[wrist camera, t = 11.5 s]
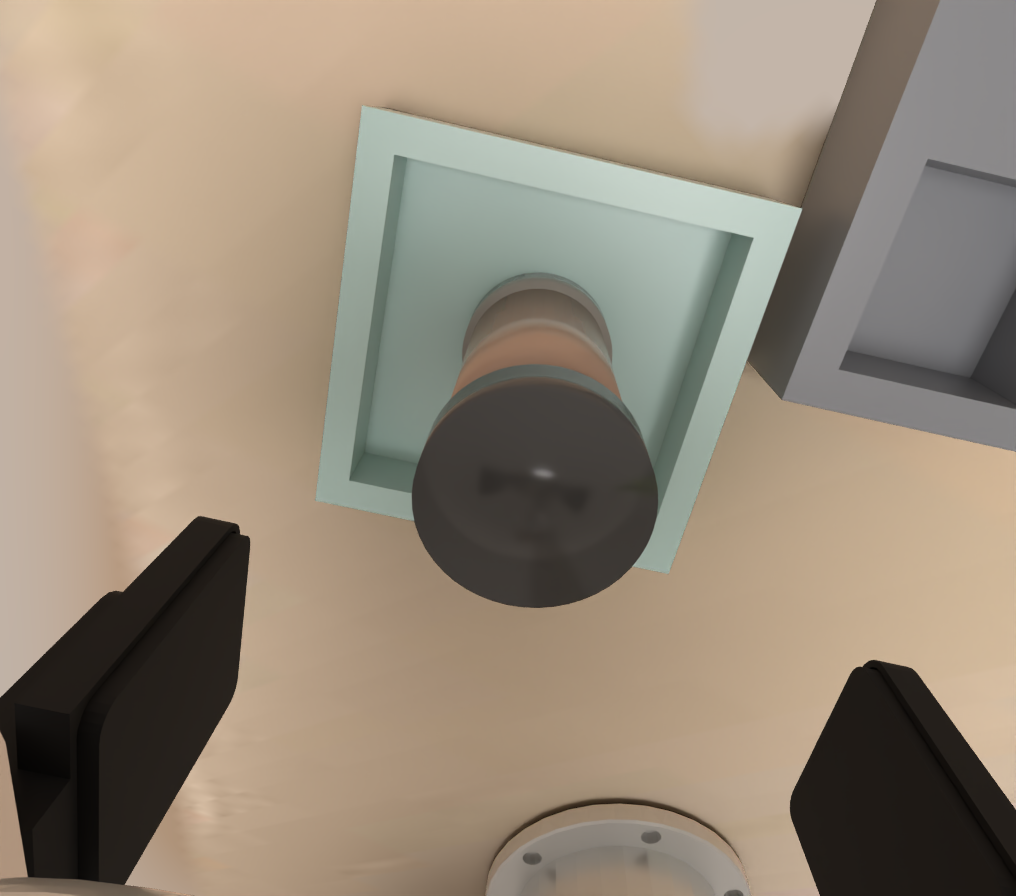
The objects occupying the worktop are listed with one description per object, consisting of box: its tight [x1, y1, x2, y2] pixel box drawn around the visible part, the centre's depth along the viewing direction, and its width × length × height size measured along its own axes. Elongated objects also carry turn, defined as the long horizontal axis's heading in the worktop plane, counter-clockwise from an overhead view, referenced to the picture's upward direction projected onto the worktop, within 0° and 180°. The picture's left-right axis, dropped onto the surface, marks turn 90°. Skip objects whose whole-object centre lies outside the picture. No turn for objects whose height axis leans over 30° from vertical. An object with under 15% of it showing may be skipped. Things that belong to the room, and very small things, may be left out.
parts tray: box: [315, 105, 802, 574], centre depth 23 cm, size 12×12×3 cm
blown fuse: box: [412, 272, 658, 608], centre depth 19 cm, size 5×5×11 cm
